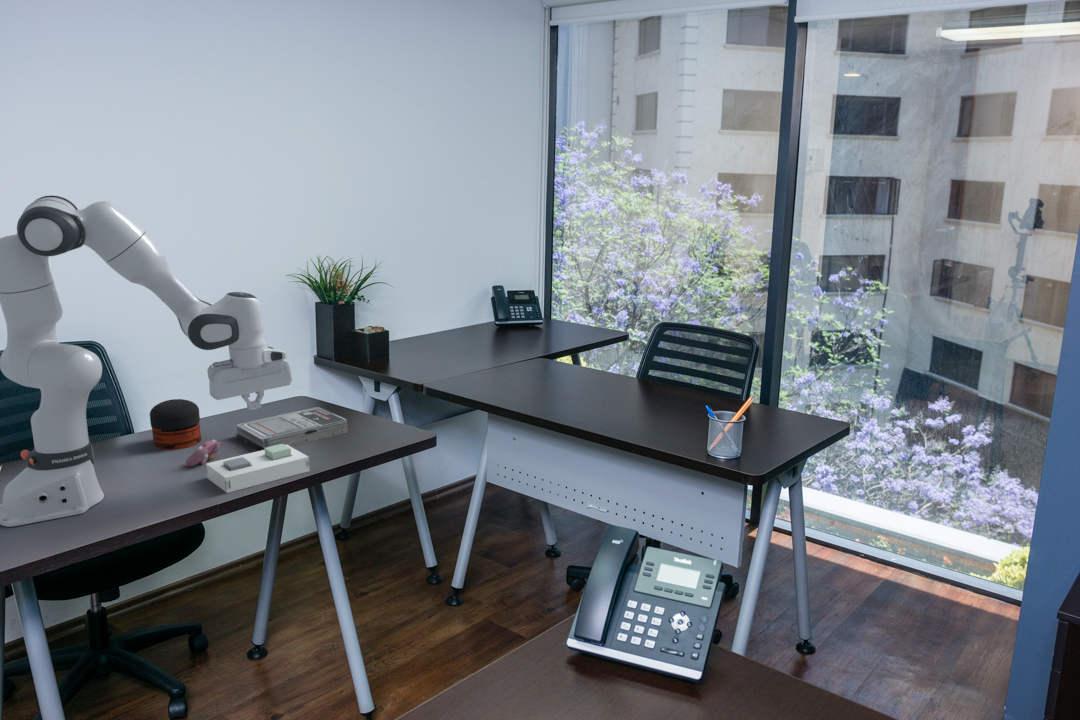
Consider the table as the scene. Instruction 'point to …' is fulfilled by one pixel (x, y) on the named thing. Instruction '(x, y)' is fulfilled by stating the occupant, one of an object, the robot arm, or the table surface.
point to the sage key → (277, 452)
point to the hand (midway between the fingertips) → (254, 408)
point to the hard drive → (292, 428)
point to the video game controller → (204, 453)
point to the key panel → (256, 470)
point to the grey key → (236, 464)
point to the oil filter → (175, 424)
